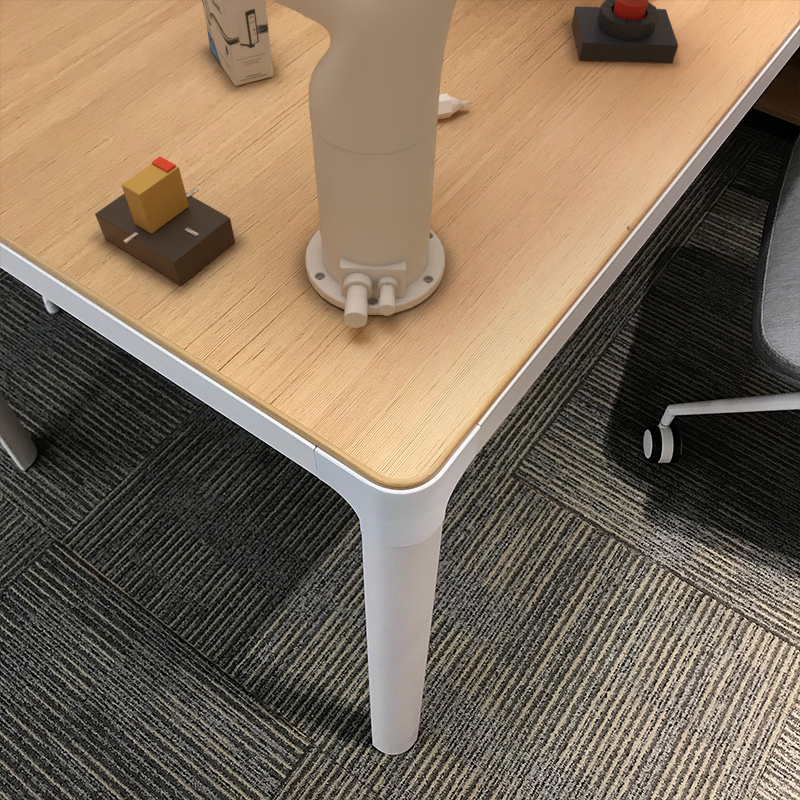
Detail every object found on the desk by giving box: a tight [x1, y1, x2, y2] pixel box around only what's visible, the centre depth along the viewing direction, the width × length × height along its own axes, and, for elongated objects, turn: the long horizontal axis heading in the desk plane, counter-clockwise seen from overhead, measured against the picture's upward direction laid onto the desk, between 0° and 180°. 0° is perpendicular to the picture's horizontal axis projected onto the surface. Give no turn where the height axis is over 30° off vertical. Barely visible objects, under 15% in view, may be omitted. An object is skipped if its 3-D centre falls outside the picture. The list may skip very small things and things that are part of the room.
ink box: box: [201, 0, 274, 87], centre depth 83 cm, size 9×5×12 cm, turn 27°
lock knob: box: [121, 156, 189, 234], centre depth 67 cm, size 5×2×5 cm, turn 144°
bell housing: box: [571, 0, 679, 64], centre depth 90 cm, size 8×11×4 cm
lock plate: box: [94, 187, 236, 287], centre depth 70 cm, size 10×9×3 cm
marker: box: [438, 92, 474, 120], centre depth 81 cm, size 3×2×16 cm
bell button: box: [613, 0, 650, 20], centre depth 88 cm, size 4×4×2 cm
